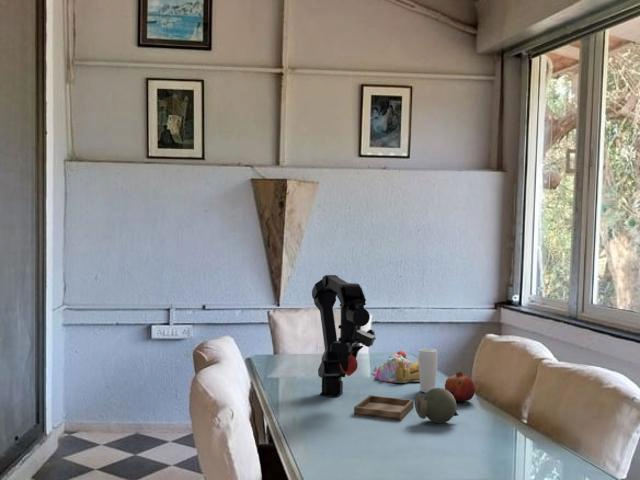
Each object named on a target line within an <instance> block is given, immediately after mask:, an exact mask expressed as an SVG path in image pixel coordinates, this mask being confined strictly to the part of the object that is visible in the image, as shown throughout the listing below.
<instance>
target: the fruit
mask: <svg viewBox="0 0 640 480" xmlns="http://www.w3.org/2000/svg"><path fill="white" fill-rule="evenodd" d="M475 388H476V387H475V384H474V380H473V379H472V378H471V377H470V376H468V375H464V374H463V371H459V372H456V373H455V374H452V375H450V376H449V377H448V378H447V379H446V381H445V382H444V389H446V390H448V391H449V390H453V391H454V393H453V394H452V395H453V396H454V398H455V401H456V402H459V403H461V402H462V403H463V402H464V403H465V402H468V401H470V400H472V398H473V397H474V395H475V391H476V389H475Z"/></svg>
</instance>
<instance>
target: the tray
mask: <svg viewBox="0 0 640 480" xmlns="http://www.w3.org/2000/svg"><path fill="white" fill-rule="evenodd" d="M414 402H415V399H408V398H399V397H398V398H397V397H390V396H379V395H373V394H372V395H371V394H369V395H368V396H367V397H365V398H364V399H362V400H361V401H360V402H359V403H358V404H356V405H355V406H354V407H353V416H357V417H358V416H359V417H367V418H376V419H381V420H383V419H384V420H390V421H398V422H400V421H401V422H402V420H403V419H404V418H405V417H406V416H407V415H408V414H409V413H410V412H411V411H412V410H413V409H414Z"/></svg>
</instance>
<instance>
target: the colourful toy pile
mask: <svg viewBox="0 0 640 480" xmlns="http://www.w3.org/2000/svg"><path fill="white" fill-rule="evenodd" d="M372 375H373V376H374V380H377V381H380V382H384V383H385V382H386V383H389V382H390V383H395V384H396V383H398V384H406V383H410V382H412V383H413V382H415V383H416V382H418V383H420V377H419V363H418V360H416V361H414V362H412V360H411V359H408V357H407V354H406V352H405V351H403V350H399V351H397V352H396V353H393V354H391V355H389V356H388V359H387V360H386V361H384V362H382V363H381V364H380V365H379V367H377V366H376V365H375V366H374V368H373V371H372Z"/></svg>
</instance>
